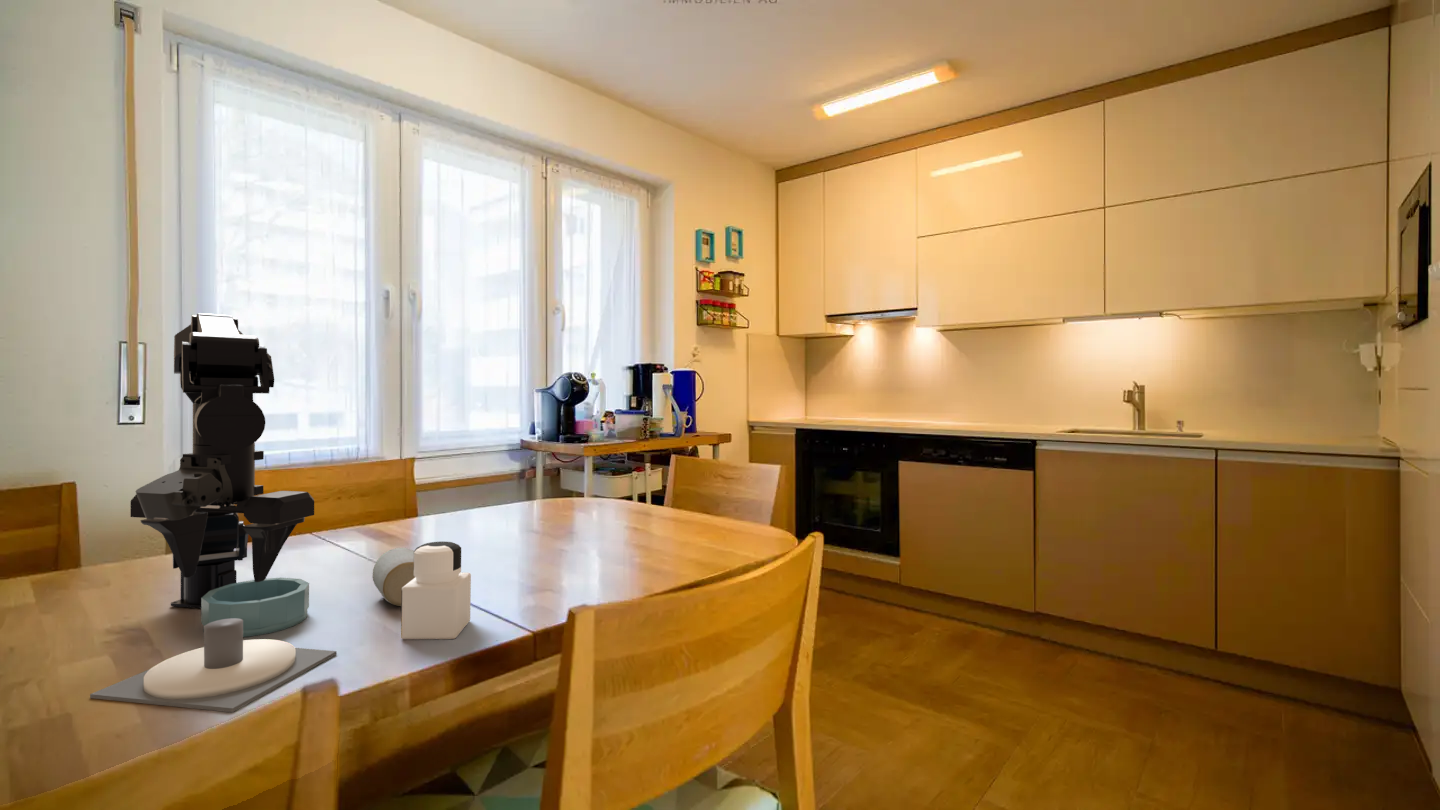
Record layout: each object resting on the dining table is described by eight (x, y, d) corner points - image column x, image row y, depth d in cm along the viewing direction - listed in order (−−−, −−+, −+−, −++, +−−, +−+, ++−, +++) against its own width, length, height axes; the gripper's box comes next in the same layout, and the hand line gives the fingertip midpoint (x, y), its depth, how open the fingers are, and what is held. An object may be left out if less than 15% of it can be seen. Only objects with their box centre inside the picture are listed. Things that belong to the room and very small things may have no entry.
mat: (90, 697, 70) (90, 694, 70) (216, 644, 85) (216, 641, 85) (232, 712, 68) (232, 708, 68) (336, 654, 83) (336, 651, 83)
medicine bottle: (419, 621, 95) (420, 538, 94) (471, 620, 95) (472, 538, 95) (400, 640, 88) (401, 550, 87) (455, 639, 88) (456, 550, 88)
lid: (107, 693, 70) (107, 642, 70) (223, 643, 84) (223, 600, 84) (224, 704, 69) (224, 652, 68) (322, 651, 82) (323, 607, 82)
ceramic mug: (381, 612, 98) (383, 561, 98) (371, 598, 104) (372, 549, 104) (455, 601, 104) (457, 553, 104) (441, 588, 111) (443, 542, 111)
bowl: (179, 634, 88) (179, 600, 88) (254, 605, 100) (254, 575, 100) (260, 640, 86) (260, 606, 86) (326, 610, 98) (327, 580, 98)
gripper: (77, 447, 69) (77, 595, 69) (236, 452, 66) (235, 606, 67) (178, 439, 80) (178, 567, 80) (318, 444, 77) (317, 576, 78)
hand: (224, 579), depth 76 cm, fingers open, 9 cm apart
